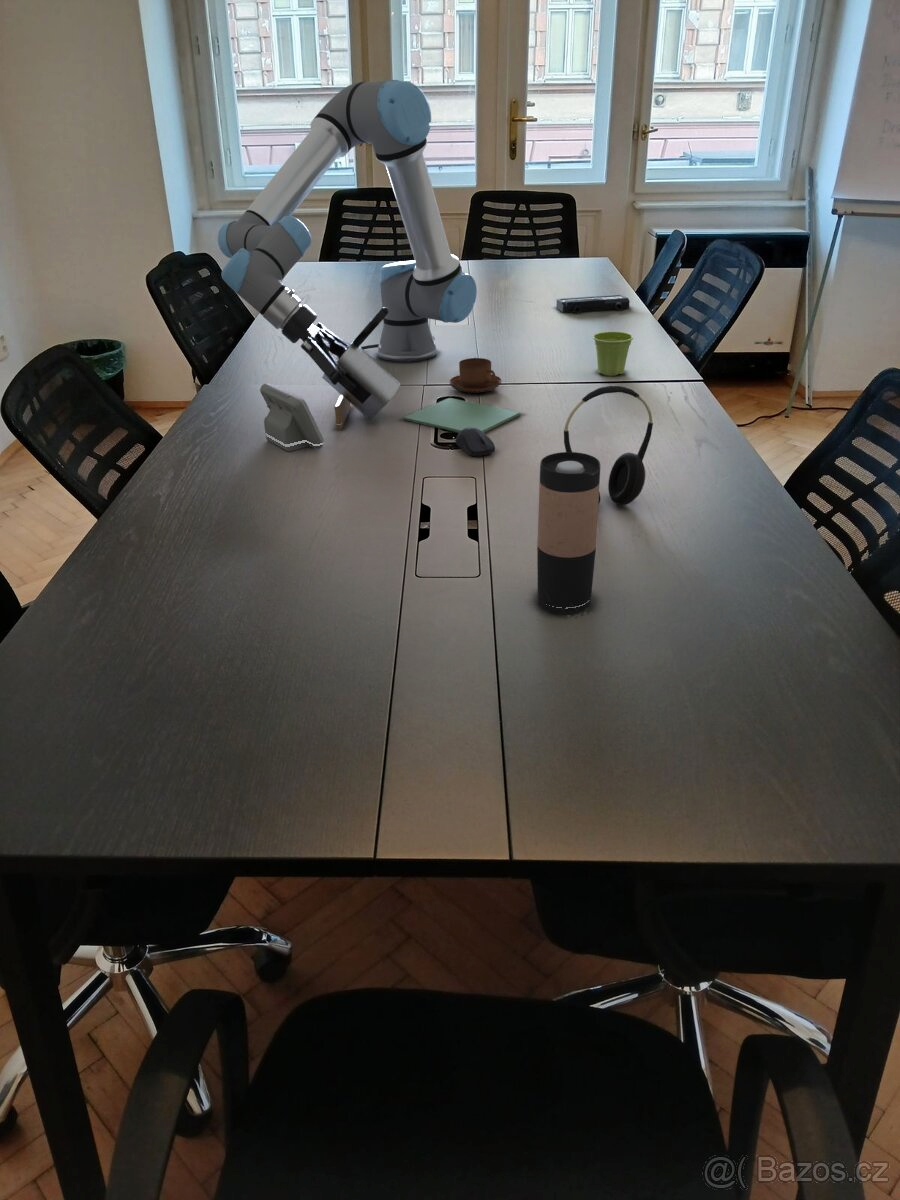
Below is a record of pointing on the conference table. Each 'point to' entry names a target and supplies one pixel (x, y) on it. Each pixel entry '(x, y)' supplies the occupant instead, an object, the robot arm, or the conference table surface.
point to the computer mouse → (474, 442)
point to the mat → (461, 415)
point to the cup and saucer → (475, 376)
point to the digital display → (592, 303)
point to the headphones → (629, 466)
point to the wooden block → (341, 411)
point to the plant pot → (612, 351)
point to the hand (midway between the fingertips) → (371, 389)
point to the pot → (366, 373)
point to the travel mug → (567, 530)
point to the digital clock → (289, 419)
